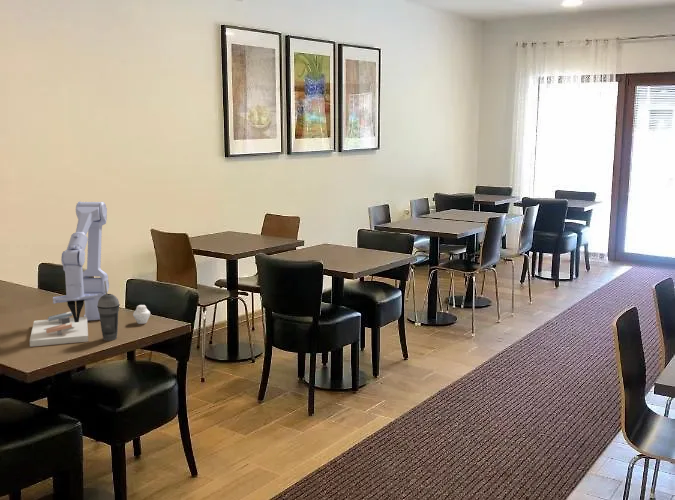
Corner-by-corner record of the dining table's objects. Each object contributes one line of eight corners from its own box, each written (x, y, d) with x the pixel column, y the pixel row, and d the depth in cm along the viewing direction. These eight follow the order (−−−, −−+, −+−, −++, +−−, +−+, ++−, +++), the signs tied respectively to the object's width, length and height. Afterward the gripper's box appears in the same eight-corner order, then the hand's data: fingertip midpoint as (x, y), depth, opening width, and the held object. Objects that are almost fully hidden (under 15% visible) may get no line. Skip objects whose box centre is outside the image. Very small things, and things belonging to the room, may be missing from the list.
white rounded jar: (130, 322, 255) (129, 304, 253) (144, 319, 259) (144, 301, 258) (139, 326, 250) (138, 307, 249) (153, 322, 255) (153, 304, 254)
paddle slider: (69, 325, 242) (69, 317, 242) (69, 327, 240) (69, 319, 239) (62, 326, 242) (62, 317, 241) (62, 328, 239) (61, 319, 238)
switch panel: (87, 321, 255) (86, 312, 255) (88, 341, 231) (87, 331, 231) (34, 326, 249) (33, 317, 249) (29, 346, 225) (29, 336, 225)
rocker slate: (72, 313, 250) (71, 310, 250) (72, 315, 247) (71, 312, 247) (49, 319, 247) (48, 316, 247) (48, 321, 245) (47, 318, 244)
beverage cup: (108, 343, 230) (105, 284, 227) (94, 339, 234) (91, 281, 230) (125, 337, 236) (123, 280, 233) (111, 334, 240) (108, 278, 236)
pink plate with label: (71, 325, 235) (71, 322, 235) (71, 327, 232) (71, 324, 232) (47, 331, 233) (46, 328, 232) (46, 333, 230) (46, 330, 230)
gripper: (51, 287, 233) (54, 326, 235) (96, 284, 238) (98, 322, 240) (52, 283, 240) (54, 321, 242) (96, 280, 245) (98, 317, 247)
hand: (76, 321), depth 242 cm, fingers closed
